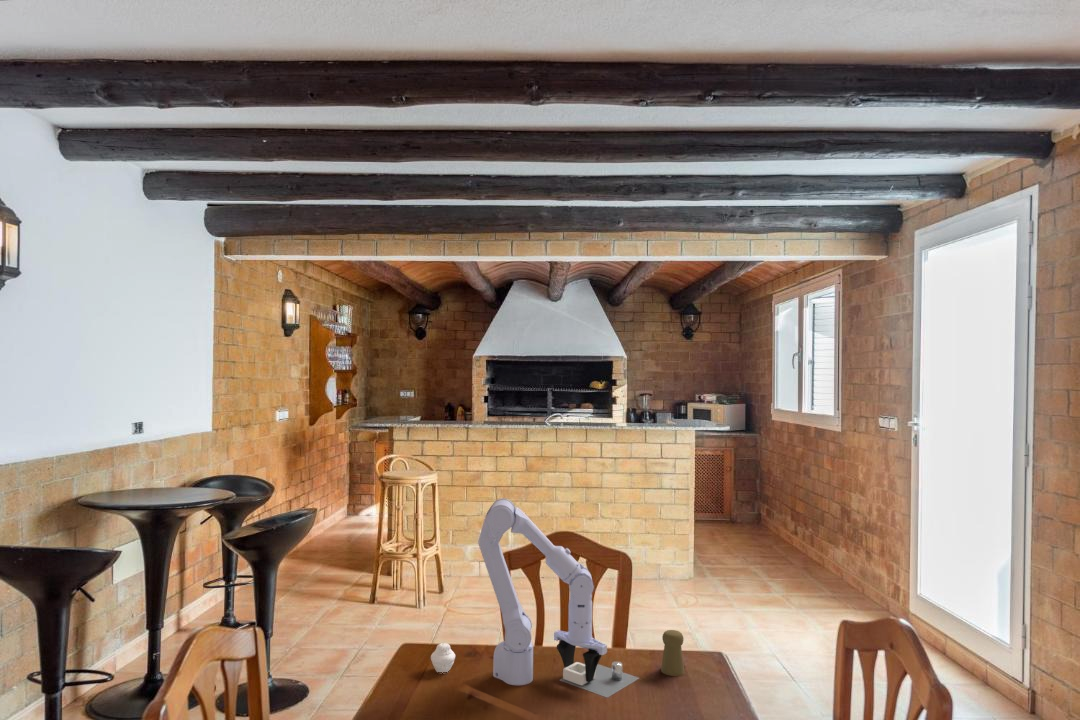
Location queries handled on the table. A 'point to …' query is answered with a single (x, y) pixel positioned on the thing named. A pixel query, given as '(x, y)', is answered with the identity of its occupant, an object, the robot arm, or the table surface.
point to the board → (605, 682)
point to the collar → (576, 673)
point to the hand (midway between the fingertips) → (579, 676)
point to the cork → (672, 653)
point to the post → (617, 671)
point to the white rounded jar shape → (443, 658)
